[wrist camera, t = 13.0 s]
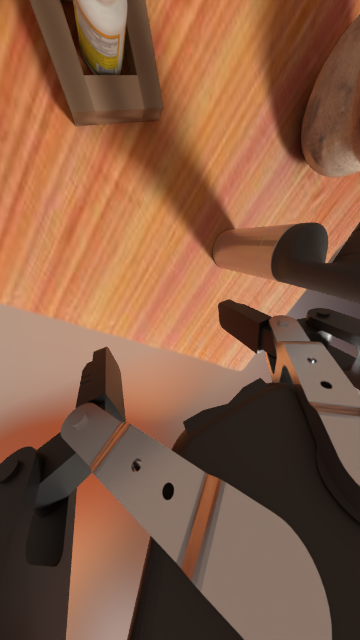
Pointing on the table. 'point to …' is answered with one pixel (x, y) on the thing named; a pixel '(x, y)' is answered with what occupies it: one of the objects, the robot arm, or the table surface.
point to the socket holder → (103, 90)
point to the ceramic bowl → (335, 110)
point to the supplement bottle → (101, 33)
